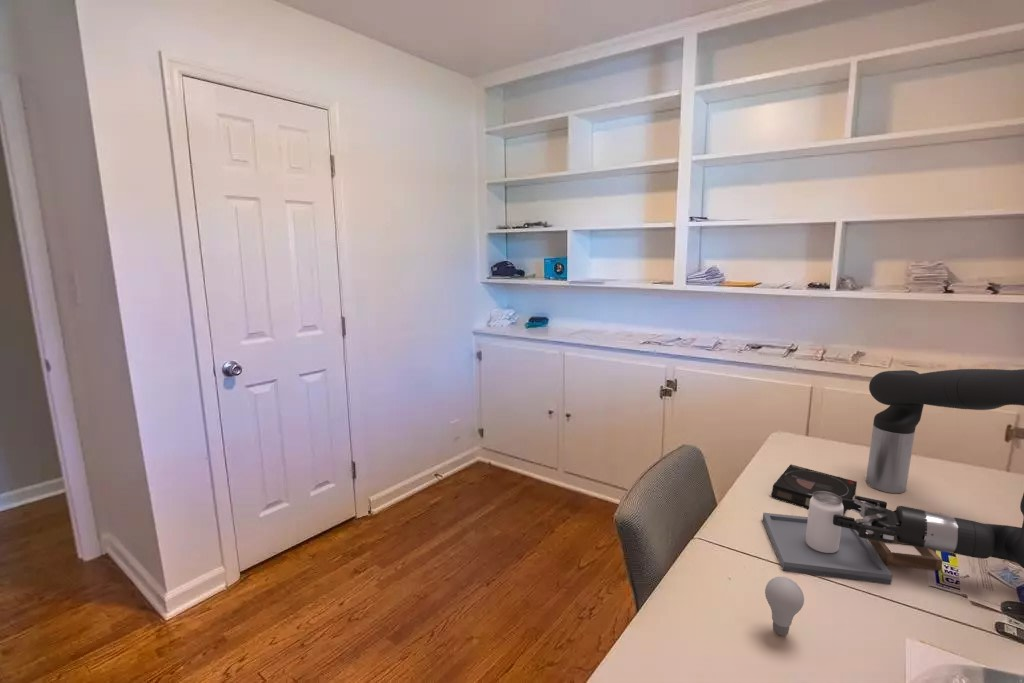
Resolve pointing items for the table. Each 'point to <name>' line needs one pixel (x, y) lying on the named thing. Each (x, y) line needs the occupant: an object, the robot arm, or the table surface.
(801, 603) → the lightbulb
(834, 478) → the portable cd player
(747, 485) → the table surface
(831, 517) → the can
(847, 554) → the tray
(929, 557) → the holder
